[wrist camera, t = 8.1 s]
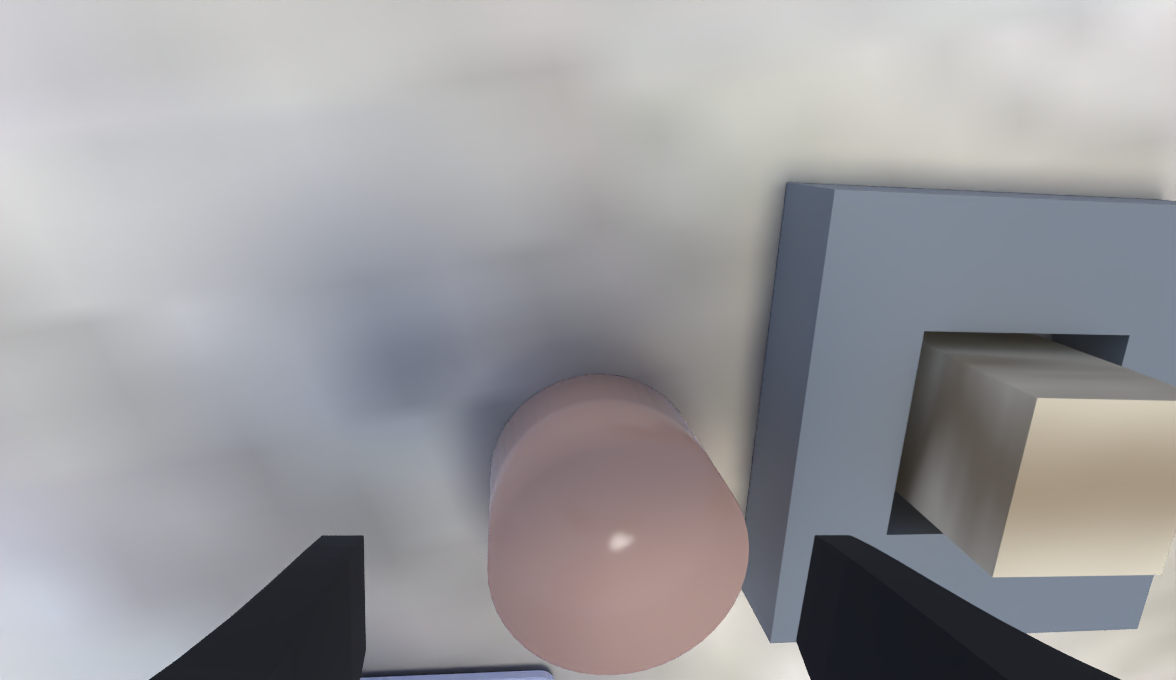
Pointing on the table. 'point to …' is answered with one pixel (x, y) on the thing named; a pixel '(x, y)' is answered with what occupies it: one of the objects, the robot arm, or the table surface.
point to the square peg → (1041, 456)
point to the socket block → (890, 360)
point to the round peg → (609, 529)
